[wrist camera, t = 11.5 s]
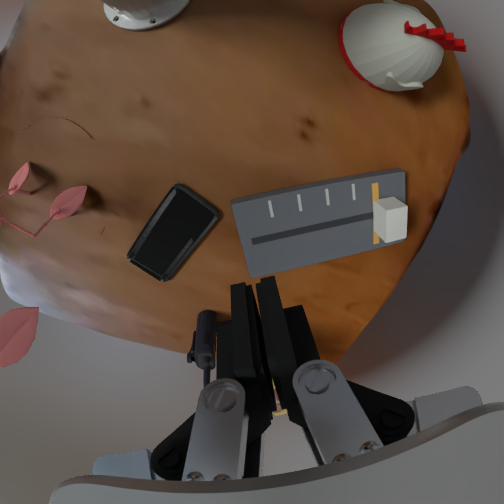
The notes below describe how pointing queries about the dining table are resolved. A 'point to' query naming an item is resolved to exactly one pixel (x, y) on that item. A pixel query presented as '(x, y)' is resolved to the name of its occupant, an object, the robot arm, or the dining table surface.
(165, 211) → the phone
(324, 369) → the robot arm
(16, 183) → the figurine
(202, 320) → the two-way radio
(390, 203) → the fader cap
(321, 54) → the dining table surface
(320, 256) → the fader console
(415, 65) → the kitchen timer
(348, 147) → the dining table surface
